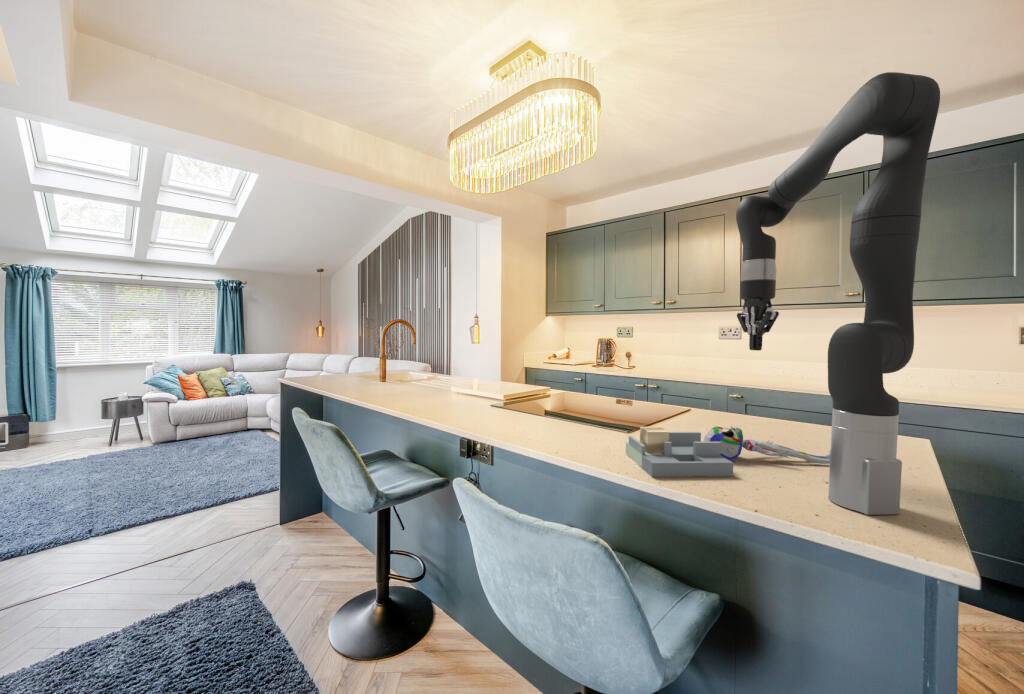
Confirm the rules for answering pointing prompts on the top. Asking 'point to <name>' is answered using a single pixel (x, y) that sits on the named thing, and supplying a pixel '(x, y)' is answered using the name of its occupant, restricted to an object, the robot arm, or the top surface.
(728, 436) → the toy
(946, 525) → the top surface
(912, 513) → the top surface
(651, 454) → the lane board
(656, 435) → the block
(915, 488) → the top surface
